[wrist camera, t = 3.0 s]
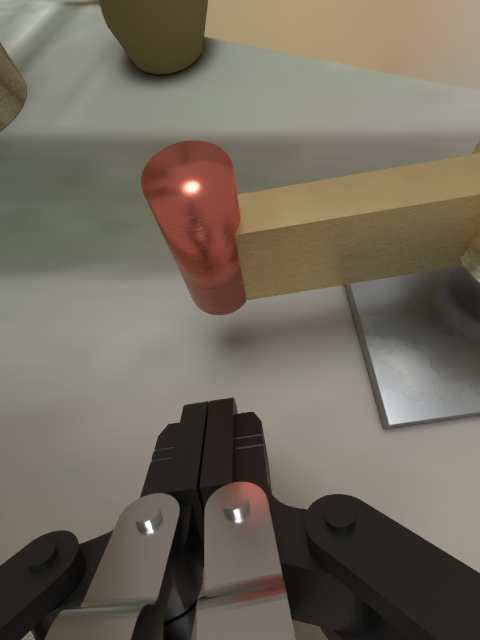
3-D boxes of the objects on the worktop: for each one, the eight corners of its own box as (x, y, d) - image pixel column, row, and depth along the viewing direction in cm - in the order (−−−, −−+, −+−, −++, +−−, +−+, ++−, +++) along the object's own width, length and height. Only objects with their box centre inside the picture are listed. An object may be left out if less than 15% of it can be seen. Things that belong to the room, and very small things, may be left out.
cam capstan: (198, 382, 15) (144, 309, 9) (184, 218, 19) (138, 89, 13) (703, 306, 15) (986, 174, 9) (594, 149, 18) (745, -23, 12)
